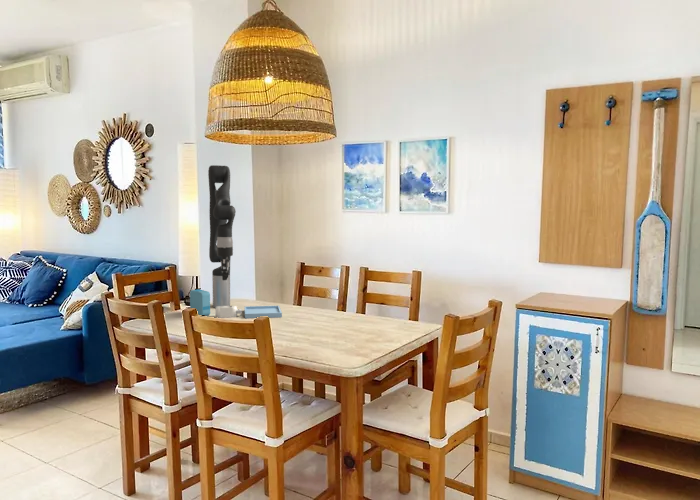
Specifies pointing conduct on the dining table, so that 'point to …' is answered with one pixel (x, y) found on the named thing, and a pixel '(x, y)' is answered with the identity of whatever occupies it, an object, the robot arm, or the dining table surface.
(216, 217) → the robot arm
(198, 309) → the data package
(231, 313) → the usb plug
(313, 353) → the dining table surface
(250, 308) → the blue tray
